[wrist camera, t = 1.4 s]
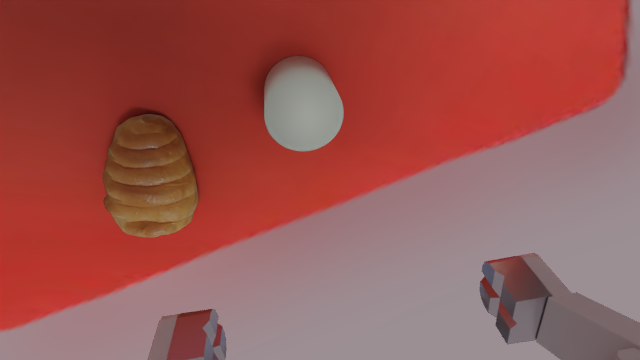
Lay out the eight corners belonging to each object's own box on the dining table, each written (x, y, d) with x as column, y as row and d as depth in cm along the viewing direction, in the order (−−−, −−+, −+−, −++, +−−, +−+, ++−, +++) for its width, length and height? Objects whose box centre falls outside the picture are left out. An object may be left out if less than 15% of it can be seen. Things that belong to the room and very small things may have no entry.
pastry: (100, 105, 28) (79, 127, 24) (198, 113, 29) (191, 134, 26) (116, 212, 32) (101, 242, 29) (201, 215, 34) (194, 244, 30)
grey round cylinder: (270, 126, 30) (272, 156, 26) (257, 61, 27) (257, 83, 23) (334, 116, 30) (346, 144, 26) (328, 50, 27) (340, 70, 23)
